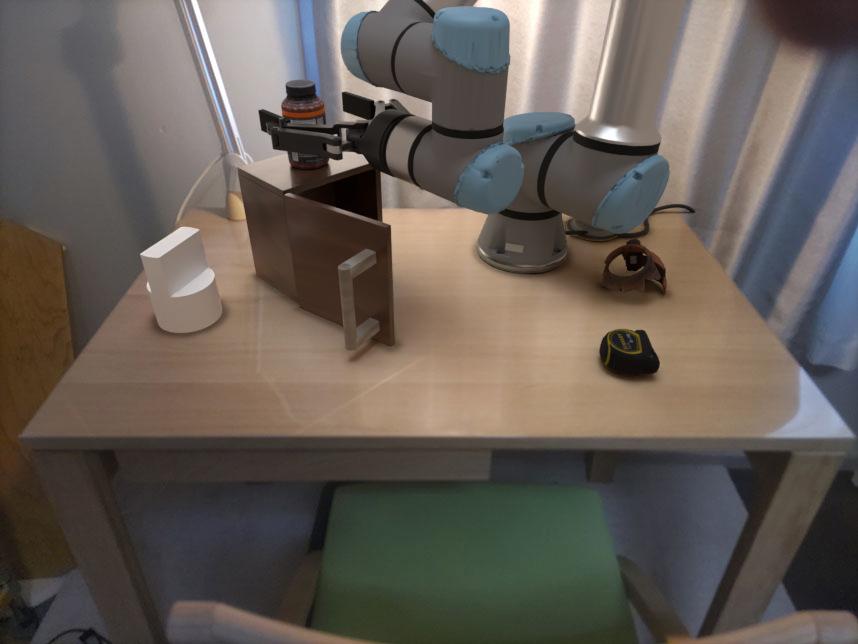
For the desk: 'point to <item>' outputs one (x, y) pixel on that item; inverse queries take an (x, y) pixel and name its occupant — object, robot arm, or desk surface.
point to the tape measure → (629, 352)
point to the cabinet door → (343, 269)
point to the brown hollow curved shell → (634, 268)
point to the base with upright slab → (181, 282)
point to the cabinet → (330, 184)
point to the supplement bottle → (304, 117)
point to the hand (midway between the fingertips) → (304, 110)
